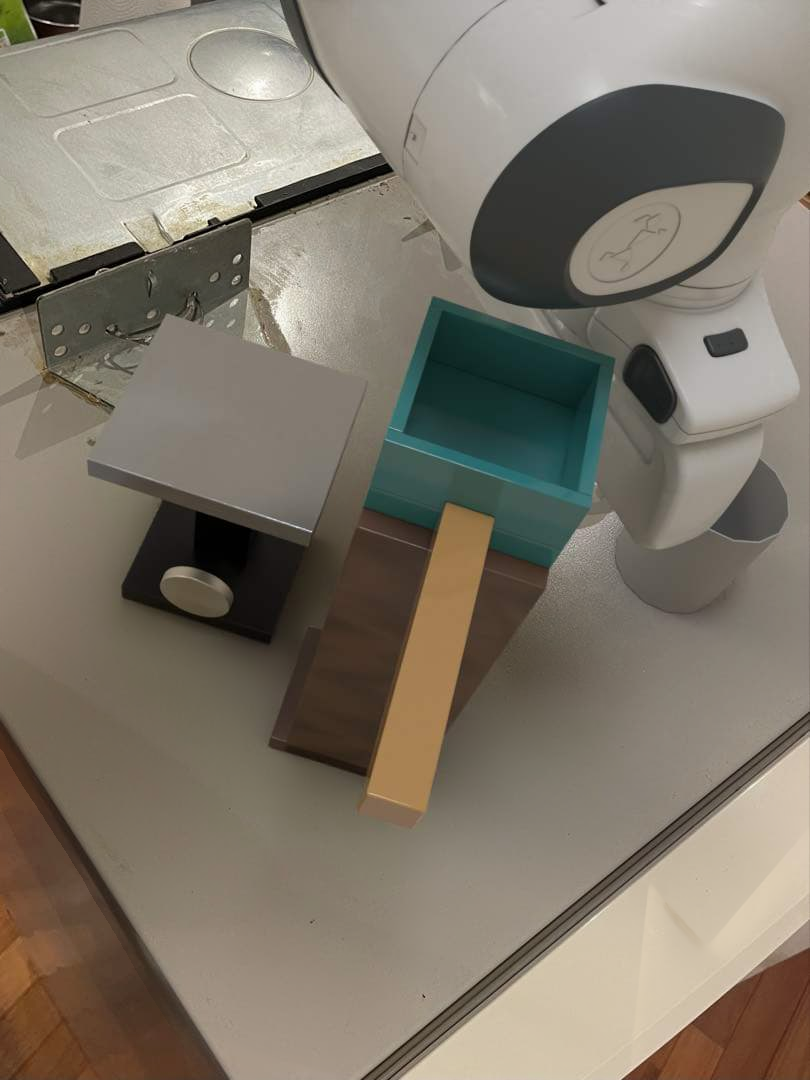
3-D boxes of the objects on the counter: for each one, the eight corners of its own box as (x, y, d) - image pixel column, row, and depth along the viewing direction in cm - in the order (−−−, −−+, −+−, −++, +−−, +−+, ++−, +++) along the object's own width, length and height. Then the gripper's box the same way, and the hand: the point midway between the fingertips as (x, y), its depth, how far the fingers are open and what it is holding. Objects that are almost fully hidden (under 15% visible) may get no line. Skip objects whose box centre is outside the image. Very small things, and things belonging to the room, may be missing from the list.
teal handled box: (268, 787, 33) (283, 740, 29) (408, 367, 44) (432, 294, 40) (495, 859, 33) (538, 821, 30) (577, 424, 44) (616, 357, 41)
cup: (593, 550, 74) (649, 473, 65) (660, 499, 78) (720, 421, 69) (675, 633, 71) (744, 565, 63) (740, 577, 75) (812, 505, 67)
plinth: (268, 746, 61) (331, 518, 39) (306, 635, 65) (381, 376, 43) (422, 795, 61) (570, 597, 39) (449, 681, 66) (595, 448, 44)
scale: (100, 605, 63) (86, 458, 50) (164, 474, 69) (166, 312, 56) (279, 663, 64) (313, 533, 50) (327, 528, 70) (368, 380, 56)
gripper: (474, 122, 47) (409, 325, 58) (713, 456, 39) (584, 616, 50) (580, 109, 50) (499, 306, 61) (826, 420, 41) (679, 580, 53)
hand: (539, 449), depth 56 cm, fingers open, 8 cm apart
